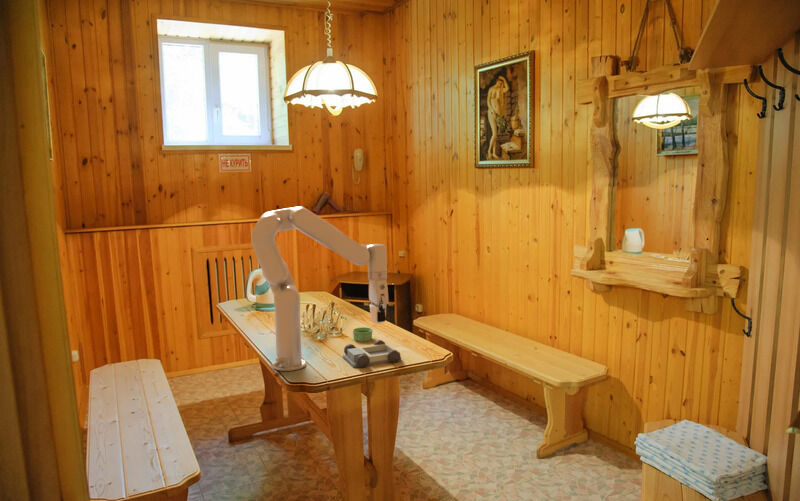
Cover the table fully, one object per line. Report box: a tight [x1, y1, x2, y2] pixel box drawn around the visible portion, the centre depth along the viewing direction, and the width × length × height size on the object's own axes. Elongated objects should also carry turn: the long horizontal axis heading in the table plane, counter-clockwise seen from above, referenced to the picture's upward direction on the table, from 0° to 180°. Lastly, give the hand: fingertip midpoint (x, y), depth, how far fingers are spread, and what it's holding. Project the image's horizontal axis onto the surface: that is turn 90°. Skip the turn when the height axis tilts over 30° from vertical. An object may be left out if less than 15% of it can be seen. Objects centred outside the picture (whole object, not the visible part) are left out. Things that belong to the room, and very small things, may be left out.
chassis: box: [342, 339, 402, 369], centre depth 222 cm, size 20×17×5 cm
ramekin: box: [352, 326, 373, 343], centre depth 250 cm, size 9×9×4 cm
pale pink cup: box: [368, 302, 387, 324], centre depth 221 cm, size 7×7×7 cm
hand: (378, 319), depth 222 cm, fingers closed on pale pink cup, 6 cm apart
